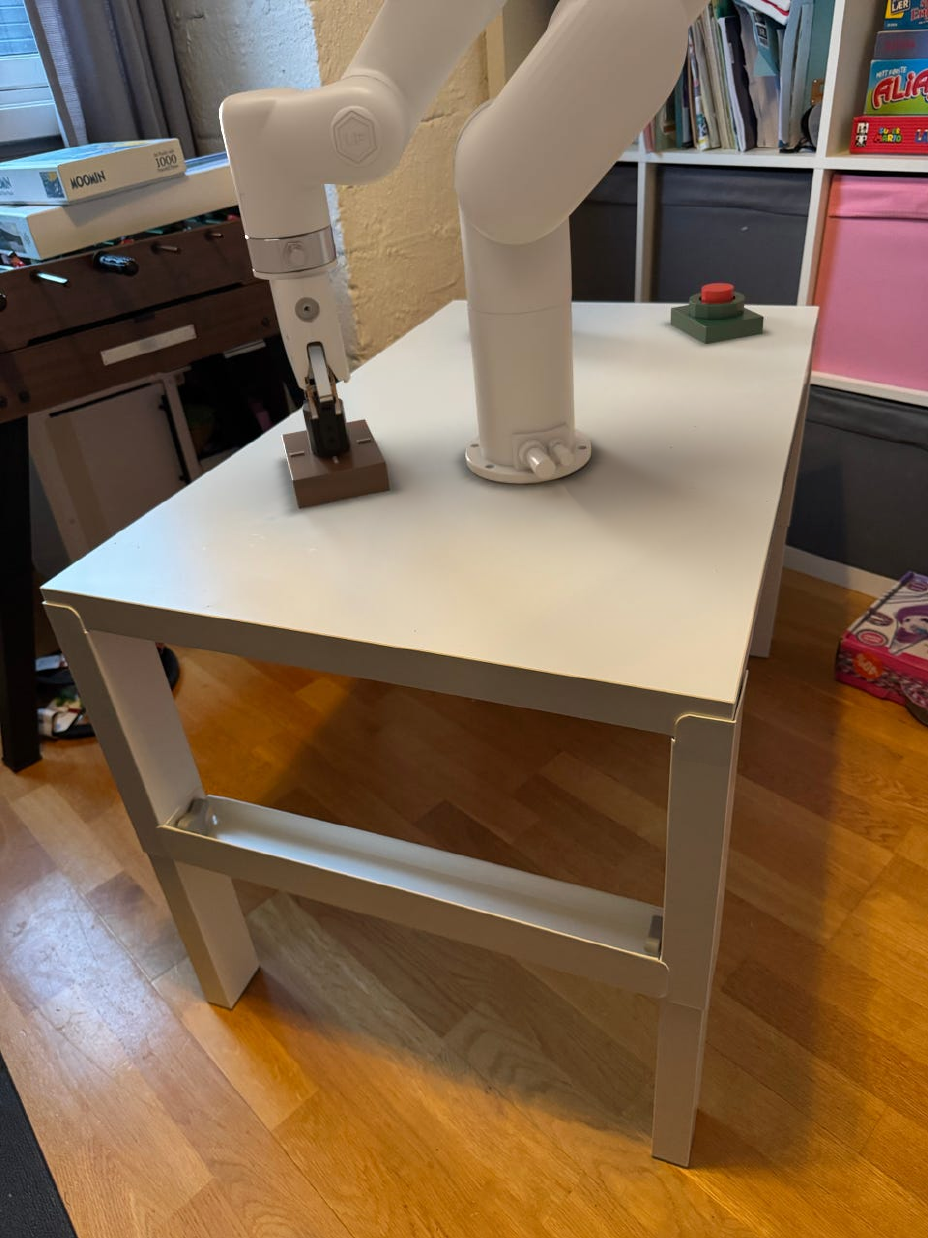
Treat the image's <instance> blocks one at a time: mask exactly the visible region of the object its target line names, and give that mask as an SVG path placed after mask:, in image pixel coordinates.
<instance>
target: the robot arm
mask: <svg viewBox="0 0 928 1238" xmlns="http://www.w3.org/2000/svg"><path fill="white" fill-rule="evenodd" d="M508 1H509V0H384V2H383V3H382V6H381V8H380V10H379V11H378V13H377V15H376V17H375V19H374V21H373V23H372V24H371V26H370V28H369V30H368V31H367V33H366V35H365V37H364V39H363V40H362V42H361V44H360V46H359V47H358V48H357V51H356V53H355V54H354V56H353V58H352V60H351V61H350V62H349V64H348V66H347V68H346V69H345V71H344V73H343V75H342V76H341V77H340V80H338V81H336V82H332V83H330V84H327V85H326V84H325V85H322V86H319V87H316V88H311V89H306V90H300V88H295V87H287V86H286V87H285V86H283V87H281V86H280V87H270V88H262V89H254V90H247V91H242V92H237V93H234V94H231V95H228V96H227V97H225V98H224V99H223V100H222V102H221V104H220V107H219V121H220V127H221V133H222V137H223V141H224V146H225V151H226V155H227V159H228V164H229V169H230V173H231V177H232V183H233V186H234V192H235V196H236V200H237V204H238V205H237V206H238V208H239V213H240V218H241V223H242V227H243V231H244V235H245V241H246V245H247V249H248V254H249V258H250V262H251V267H252V273H253V277H255V278H257V279H260V280H266V281H267V280H268V281H269V286H270V291H271V295H272V299H273V305H274V309H275V313H276V318H277V322H278V326H279V331H280V334H281V338H282V342H283V345H284V349H285V352H286V354H287V358H288V361H289V364H290V367H291V369H292V372H293V374H294V378H295V379H296V383H297V385H298V387H299V388H300V389H301V390H303V394H304V398H305V400H303V405H304V404H305V403H306V402H308V401H309V405H310V410H311V414H312V417H309V419H310V423H311V428H312V433H313V438H314V443H315V448H316V453H317V456H318V457H320V458H322V457H327V456H332V455H337V454H342V453H347V452H348V451H349V443H348V437H347V432H346V426H345V421H344V415H343V412H342V411H341V409H340V404H339V399H338V398H339V395H338V389H337V383H336V380H335V378H336V379H337V381H338V382H343V383H344V384H347V383H349V382H350V380H351V377H352V376H351V373H350V368H349V364H348V359H347V354H346V349H345V344H344V339H343V334H342V328H341V322H340V317H339V312H338V308H337V307H338V306H337V302H336V299H335V294H334V289H333V286H332V281H331V278H330V274H329V271H330V270H332V269H334V268H336V267H337V265H338V263H339V261H338V257H337V256H338V255H337V251H336V244H335V237H334V233H333V232H334V231H333V227H332V226H333V225H332V221H331V220H332V219H331V215H330V209H329V203H328V198H327V191H326V185H337V186H338V185H339V186H340V185H341V186H367V185H373V184H376V183H378V182H380V181H383V180H384V179H386V178H388V177H389V175H391V174H392V173H393V172H394V171H395V170H396V168H397V167H398V165H399V164H400V162H401V160H402V159H403V158H402V157H403V155H404V152H405V150H406V147H407V145H408V143H409V142H410V140H411V138H412V137H413V135H414V134H415V132H416V130H417V129H418V127H419V126H420V123H421V122H422V121H423V119H424V117H425V116H426V114H427V112H428V111H429V109H430V108H431V106H432V104H433V103H434V101H435V100H436V98H437V97H438V95H439V93H440V92H441V90H442V89H443V87H444V86H445V84H446V83H447V81H448V79H449V78H450V76H451V75H452V73H453V72H454V70H455V69H456V67H457V65H458V64H459V63H460V61H461V60H462V58H463V56H464V55H465V54H466V53H467V51H468V50H469V49H470V46H472V45H473V44H474V42H475V41H476V40H477V38H479V36H480V35H481V34H482V33H483V32H484V31H485V30H486V29H487V28H488V27H489V26H490V25H491V24H492V22H494V20H495V19H496V18H497V17H498V16H499V14H500V13H501V11H502V10H503V8H504V6H505V5H506V4H507V3H508ZM711 2H712V0H559V1H558V2H557V5H556V6H555V8H554V10H553V12H552V14H551V16H550V19H549V22H548V25H547V29H546V30H545V32H544V33H543V34H542V36H541V37H540V38H539V40H538V42H536V44H535V45H534V47H532V49H531V51H530V52H529V54H528V55H526V57H525V59H524V60H523V62H522V63H521V64H520V65H519V66H518V68H517V70H516V71H515V72H514V73H513V74H512V76H511V78H509V80H508V81H507V83H506V84H505V85H504V86H503V88H502V89H501V90H500V92H499V93H498V94H497V95H496V96H494V97H492V98H490V99H488V100H486V101H484V102H482V103H481V104H480V105H478V107H476V108H475V109H474V110H473V111H472V112H471V113H470V114H469V115H468V117H467V118H466V120H465V121H464V122H463V124H462V126H461V128H460V130H459V133H458V135H457V138H456V142H455V145H454V149H453V151H454V152H453V183H454V190H455V194H456V198H457V205H458V214H459V216H458V217H459V225H460V236H461V248H462V258H463V259H462V260H463V270H464V282H465V293H466V307H467V308H466V309H467V318H468V330H469V341H470V352H471V362H472V374H473V382H474V383H473V385H474V395H475V406H476V407H475V408H476V415H477V416H476V417H477V428H478V436H476V437H474V439H473V440H471V441H470V442H469V444H468V445H467V446H466V448H465V452H464V454H465V463H466V465H467V468H468V469H469V470H470V471H471V472H472V473H474V475H475V474H476V475H477V476H479V477H481V478H484V479H486V480H490V481H494V482H497V483H506V484H535V483H542V482H549V481H552V480H556V479H560V478H563V477H565V476H568V475H571V474H572V473H574V472H577V471H578V470H580V469H581V468H582V467H584V466H585V465H586V464H587V463H588V462H589V460H590V458H591V456H592V443H591V440H590V438H589V436H588V435H586V434H585V433H584V432H583V431H581V430H579V429H577V428H576V425H575V423H576V422H575V421H576V420H575V419H576V418H575V417H576V416H575V386H574V385H575V383H574V345H573V344H574V343H573V341H574V339H573V306H572V305H573V304H572V297H573V283H572V282H573V281H572V279H573V278H572V255H571V254H572V252H571V235H570V233H571V232H570V215H572V213H573V212H574V211H575V210H576V209H577V208H578V207H579V206H580V204H582V202H583V201H584V200H585V199H586V198H587V197H588V196H589V194H590V193H591V192H592V191H593V190H594V188H595V187H596V186H597V185H598V184H599V183H600V182H601V181H602V179H603V178H604V177H606V174H607V173H608V172H609V171H610V170H611V169H612V168H613V166H615V164H617V162H618V161H619V159H620V158H621V157H622V156H623V155H624V154H625V152H626V151H627V150H628V149H629V148H630V147H631V145H632V144H633V143H634V141H636V139H637V138H638V137H639V136H640V134H641V133H642V132H643V131H644V130H645V129H646V127H647V126H648V125H649V124H650V123H651V122H652V121H653V119H654V118H655V117H656V115H657V114H658V113H659V111H661V109H662V107H663V106H664V105H665V103H666V102H667V100H668V98H669V96H671V93H672V92H673V90H674V88H675V86H676V85H677V82H678V80H679V78H680V76H681V74H682V71H683V68H684V65H685V62H686V57H687V52H688V46H689V29H690V27H691V26H692V25H693V24H694V23H695V22H696V20H697V19H698V17H700V15H701V14H702V13H703V12H704V10H705V9H706V8H707V7H708V6H709V4H710V3H711ZM317 395H318V396H317ZM314 399H315V400H314Z"/></svg>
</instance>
